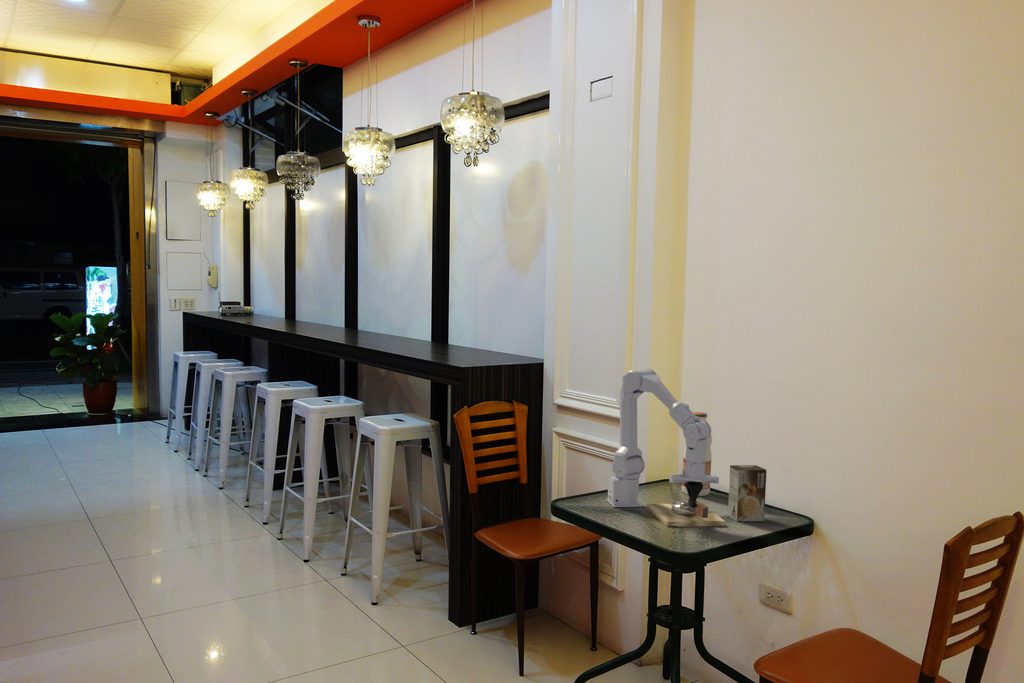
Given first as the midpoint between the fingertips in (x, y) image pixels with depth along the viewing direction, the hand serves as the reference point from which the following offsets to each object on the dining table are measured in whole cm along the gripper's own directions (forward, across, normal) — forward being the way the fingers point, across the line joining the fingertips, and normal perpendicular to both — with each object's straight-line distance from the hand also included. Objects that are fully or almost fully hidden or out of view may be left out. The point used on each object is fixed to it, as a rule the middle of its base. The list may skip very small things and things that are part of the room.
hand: (692, 506), depth 215 cm
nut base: (+5, 0, +7) cm, 8 cm away
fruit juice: (+6, +14, +34) cm, 37 cm away
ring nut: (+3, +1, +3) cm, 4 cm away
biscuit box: (+5, +19, +5) cm, 21 cm away
